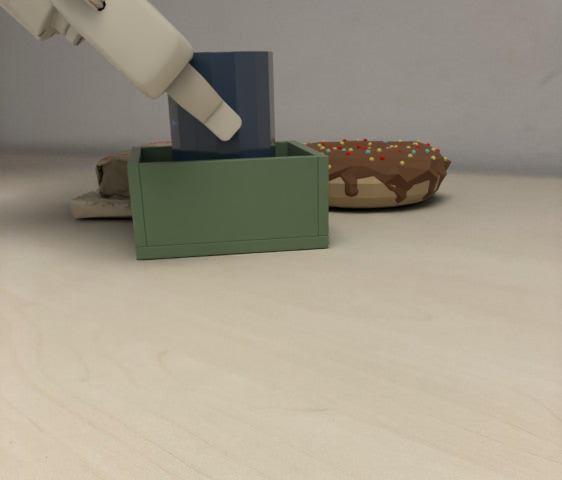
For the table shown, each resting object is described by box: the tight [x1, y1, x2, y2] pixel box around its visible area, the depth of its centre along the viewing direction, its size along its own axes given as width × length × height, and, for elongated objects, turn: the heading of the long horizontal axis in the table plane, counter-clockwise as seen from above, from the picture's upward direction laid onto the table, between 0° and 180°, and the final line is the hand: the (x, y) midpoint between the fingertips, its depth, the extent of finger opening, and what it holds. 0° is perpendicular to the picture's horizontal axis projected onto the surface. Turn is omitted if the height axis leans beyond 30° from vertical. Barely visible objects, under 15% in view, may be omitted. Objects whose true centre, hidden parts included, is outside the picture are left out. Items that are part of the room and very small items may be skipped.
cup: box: [166, 50, 276, 162], centre depth 48 cm, size 7×7×10 cm
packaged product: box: [68, 141, 171, 219], centre depth 63 cm, size 18×5×10 cm
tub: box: [127, 140, 330, 260], centre depth 49 cm, size 12×11×6 cm
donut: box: [302, 137, 452, 209], centre depth 61 cm, size 14×14×5 cm
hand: (231, 127), depth 48 cm, fingers closed on cup, 7 cm apart
